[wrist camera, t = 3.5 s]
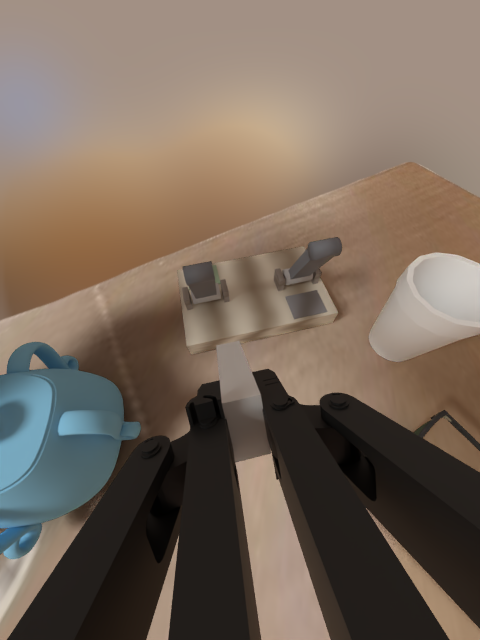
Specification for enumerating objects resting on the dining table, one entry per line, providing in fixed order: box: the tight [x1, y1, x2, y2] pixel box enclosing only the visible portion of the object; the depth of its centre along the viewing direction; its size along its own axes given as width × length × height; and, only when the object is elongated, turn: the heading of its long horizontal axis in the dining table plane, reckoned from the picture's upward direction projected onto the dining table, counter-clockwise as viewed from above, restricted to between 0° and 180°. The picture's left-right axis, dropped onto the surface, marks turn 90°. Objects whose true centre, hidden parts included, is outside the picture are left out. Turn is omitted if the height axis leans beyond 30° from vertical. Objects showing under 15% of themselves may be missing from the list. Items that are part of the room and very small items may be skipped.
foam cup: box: [369, 253, 480, 362], centre depth 30 cm, size 10×9×13 cm
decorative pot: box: [0, 342, 141, 559], centre depth 24 cm, size 16×16×14 cm
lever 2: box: [282, 237, 342, 285], centre depth 32 cm, size 4×2×12 cm, turn 103°
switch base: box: [177, 246, 338, 355], centre depth 38 cm, size 22×14×5 cm, turn 103°
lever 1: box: [183, 261, 221, 304], centre depth 31 cm, size 4×2×12 cm, turn 103°
